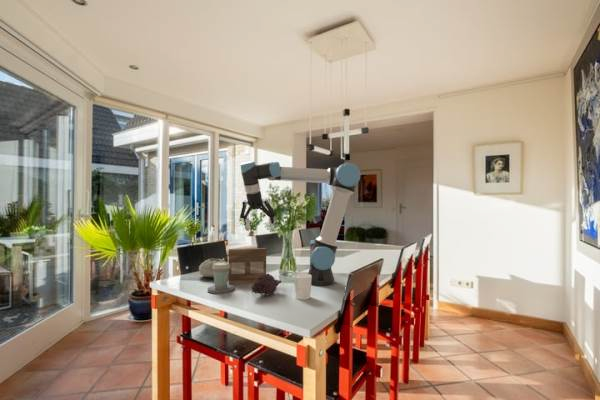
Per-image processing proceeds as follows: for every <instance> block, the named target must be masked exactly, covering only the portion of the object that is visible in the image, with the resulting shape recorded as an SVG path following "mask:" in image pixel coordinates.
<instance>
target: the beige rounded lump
mask: <svg viewBox="0 0 600 400" xmlns="http://www.w3.org/2000/svg"><path fill="white" fill-rule="evenodd" d="M217 262H227V261H226V260H224V259H222V258H208V259H206V260H204V261H203V262H201V263H200V265H199V266H198V272H199V274H200V275H202V276H203V277H204V278H213V279H214V274H213V268H212V267H213V264H214V263H217Z"/></svg>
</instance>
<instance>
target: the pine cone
mask: <svg viewBox="0 0 600 400" xmlns="http://www.w3.org/2000/svg"><path fill="white" fill-rule="evenodd" d="M281 283H282V280H279V279H275V277H274V276H273V275H272V274H270V273H266V274H263V275H260V276H259V277H258V278H257V280H256V282H255V283H252V286H251V288H250V289H251V292H252V293H253V292H254V294H260V295H261V294H265V296H270V295H273V294H274V293H276V292H275V291H277V287H278V285H280V284H281Z"/></svg>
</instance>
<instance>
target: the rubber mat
mask: <svg viewBox="0 0 600 400" xmlns="http://www.w3.org/2000/svg"><path fill="white" fill-rule="evenodd" d="M235 287H236V286H235V285H234V284H227V288H226V289H221V290H218V289H215V284H214V285H211V286H209V287H207V293H209V294H214V295H222V294H223V295H224V294H228V293H232V292H234V291H235V290H236V288H235Z"/></svg>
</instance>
